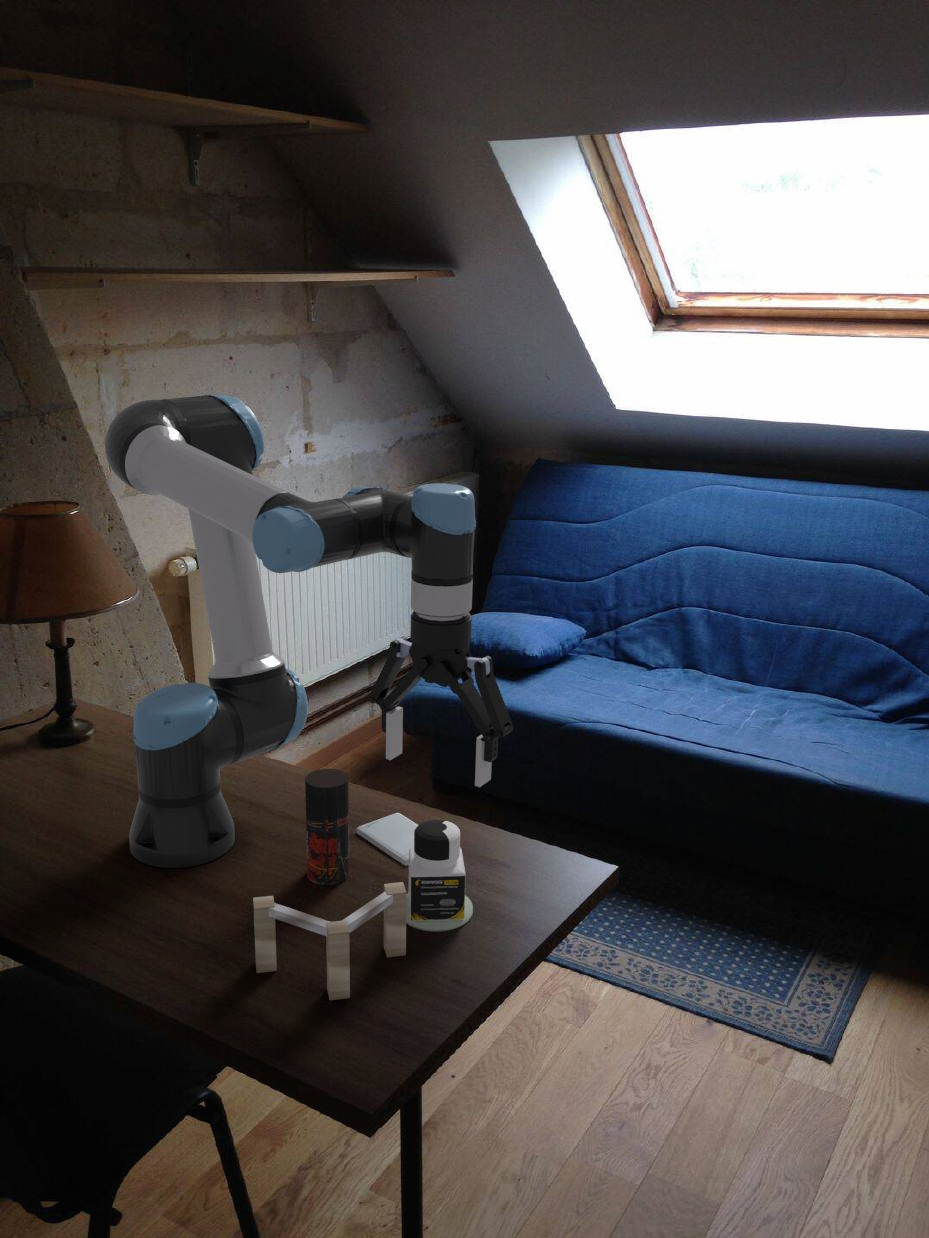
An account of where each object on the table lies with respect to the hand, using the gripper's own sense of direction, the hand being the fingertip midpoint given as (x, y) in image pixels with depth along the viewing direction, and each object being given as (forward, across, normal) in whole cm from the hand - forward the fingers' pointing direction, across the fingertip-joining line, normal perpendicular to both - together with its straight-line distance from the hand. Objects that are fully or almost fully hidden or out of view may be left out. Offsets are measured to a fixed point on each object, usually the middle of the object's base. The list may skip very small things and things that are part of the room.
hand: (437, 769), depth 141 cm
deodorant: (+21, +17, +1) cm, 27 cm away
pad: (+21, 0, 0) cm, 21 cm away
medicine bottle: (+20, 0, 0) cm, 20 cm away
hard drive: (+22, +14, -13) cm, 29 cm away
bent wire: (+21, +2, +19) cm, 28 cm away
